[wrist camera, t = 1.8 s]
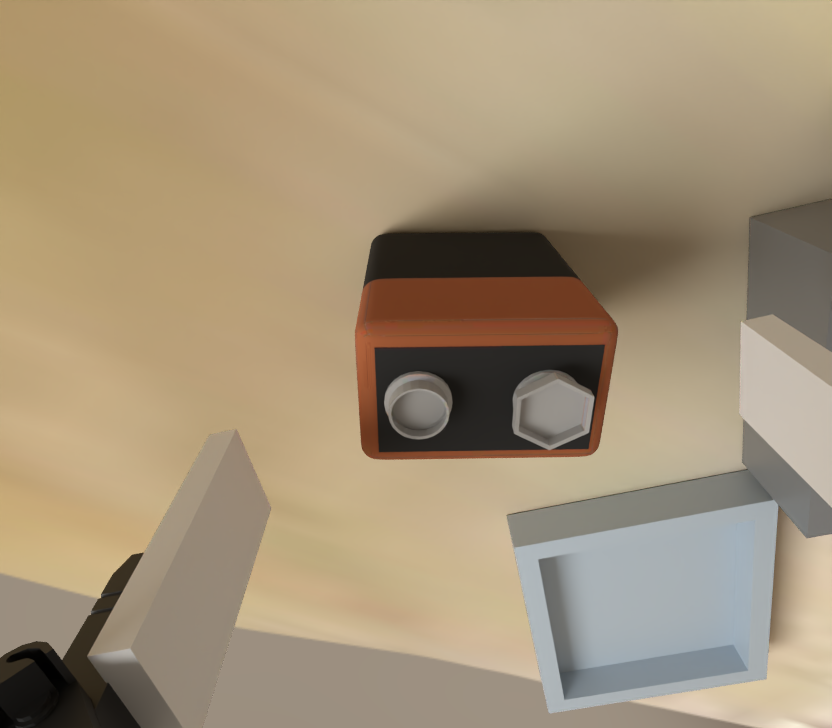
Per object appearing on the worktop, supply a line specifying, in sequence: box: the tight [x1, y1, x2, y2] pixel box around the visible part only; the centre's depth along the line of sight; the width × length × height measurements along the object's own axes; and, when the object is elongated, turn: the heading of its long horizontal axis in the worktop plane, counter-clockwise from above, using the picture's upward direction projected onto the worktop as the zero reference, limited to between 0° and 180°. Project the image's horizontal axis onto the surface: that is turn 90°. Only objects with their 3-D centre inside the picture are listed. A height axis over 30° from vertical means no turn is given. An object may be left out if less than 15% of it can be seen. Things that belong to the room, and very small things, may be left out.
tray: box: [507, 470, 778, 713], centre depth 30 cm, size 13×12×2 cm
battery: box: [355, 232, 618, 460], centre depth 19 cm, size 4×7×10 cm, turn 90°
